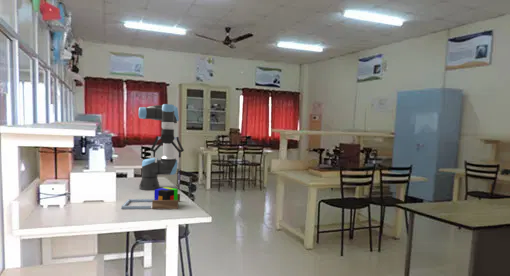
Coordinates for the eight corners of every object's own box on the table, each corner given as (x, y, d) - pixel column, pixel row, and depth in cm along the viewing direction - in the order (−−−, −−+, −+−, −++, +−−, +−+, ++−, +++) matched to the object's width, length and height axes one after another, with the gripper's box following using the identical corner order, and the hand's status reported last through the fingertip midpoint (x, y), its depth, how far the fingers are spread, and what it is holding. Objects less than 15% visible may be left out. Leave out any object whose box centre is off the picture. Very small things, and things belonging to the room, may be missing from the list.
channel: (156, 201, 212) (156, 193, 212) (179, 201, 215) (180, 193, 214) (152, 208, 194) (152, 200, 194) (177, 208, 196) (177, 200, 196)
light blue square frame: (128, 201, 209) (128, 199, 209) (154, 201, 212) (154, 199, 212) (121, 208, 191) (121, 206, 191) (150, 208, 194) (150, 206, 194)
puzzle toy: (154, 205, 202) (154, 189, 202) (165, 202, 211) (165, 187, 210) (166, 207, 197) (166, 191, 197) (177, 204, 206) (177, 189, 206)
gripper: (146, 128, 198) (145, 162, 198) (187, 129, 201) (186, 163, 202) (148, 128, 205) (147, 161, 206) (188, 129, 208) (187, 162, 209)
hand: (167, 162), depth 204 cm, fingers open, 13 cm apart
